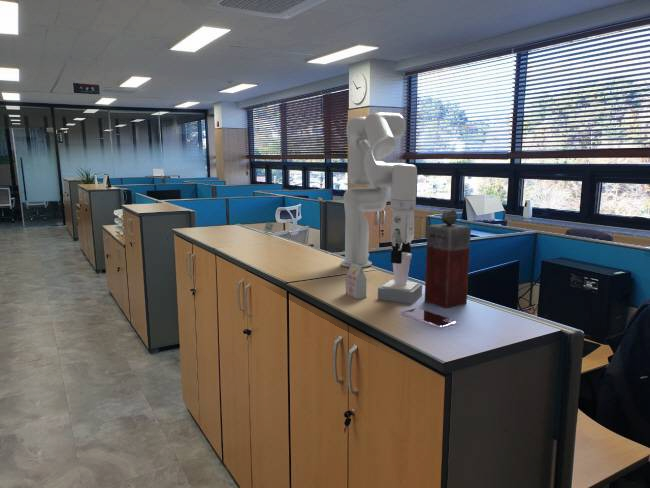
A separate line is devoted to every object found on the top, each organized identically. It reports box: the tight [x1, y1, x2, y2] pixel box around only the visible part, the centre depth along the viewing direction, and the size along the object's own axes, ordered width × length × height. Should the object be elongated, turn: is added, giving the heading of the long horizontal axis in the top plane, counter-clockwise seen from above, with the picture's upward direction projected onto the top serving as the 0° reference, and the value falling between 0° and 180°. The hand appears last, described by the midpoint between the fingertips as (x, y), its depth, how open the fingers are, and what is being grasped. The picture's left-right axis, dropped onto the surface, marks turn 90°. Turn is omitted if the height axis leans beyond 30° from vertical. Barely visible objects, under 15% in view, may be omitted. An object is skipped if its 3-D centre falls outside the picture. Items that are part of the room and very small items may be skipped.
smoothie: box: [392, 252, 413, 286], centre depth 147 cm, size 6×6×14 cm
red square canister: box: [424, 209, 472, 309], centre depth 142 cm, size 9×11×28 cm
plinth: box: [377, 279, 423, 305], centre depth 149 cm, size 11×11×4 cm
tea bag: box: [345, 263, 367, 300], centre depth 149 cm, size 4×7×10 cm, turn 26°
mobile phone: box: [399, 307, 459, 329], centre depth 128 cm, size 8×1×15 cm
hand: (400, 260), depth 147 cm, fingers open, 9 cm apart
